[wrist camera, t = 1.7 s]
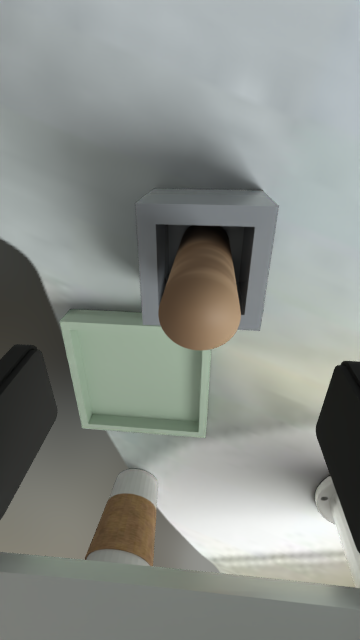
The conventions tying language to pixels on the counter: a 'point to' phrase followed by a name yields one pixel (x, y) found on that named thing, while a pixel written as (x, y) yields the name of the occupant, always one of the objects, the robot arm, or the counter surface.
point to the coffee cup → (127, 521)
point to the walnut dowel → (201, 291)
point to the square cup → (210, 210)
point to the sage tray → (134, 375)
